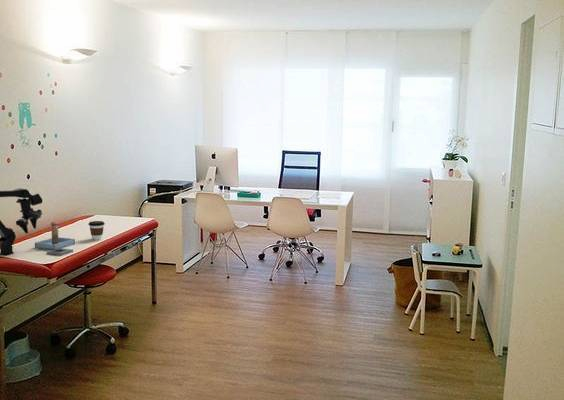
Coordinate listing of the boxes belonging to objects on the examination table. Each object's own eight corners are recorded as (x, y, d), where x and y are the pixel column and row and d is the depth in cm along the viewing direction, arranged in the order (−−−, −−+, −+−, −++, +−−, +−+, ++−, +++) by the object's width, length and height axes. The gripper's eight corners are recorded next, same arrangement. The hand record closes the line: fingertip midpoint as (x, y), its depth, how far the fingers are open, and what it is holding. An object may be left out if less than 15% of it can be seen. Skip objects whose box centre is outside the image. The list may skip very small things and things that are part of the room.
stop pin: (58, 245, 364) (58, 223, 362) (51, 245, 362) (50, 223, 360) (59, 243, 368) (58, 221, 366) (51, 244, 367) (51, 222, 365)
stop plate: (61, 255, 340) (61, 253, 340) (46, 254, 344) (46, 251, 344) (73, 251, 351) (73, 249, 350) (59, 250, 354) (59, 247, 354)
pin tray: (54, 250, 354) (54, 244, 353) (34, 247, 359) (34, 242, 358) (74, 244, 372) (74, 238, 372) (56, 241, 377) (56, 236, 377)
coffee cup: (100, 240, 383) (99, 224, 381) (85, 239, 385) (85, 223, 383) (107, 237, 393) (107, 221, 392) (94, 236, 395) (93, 220, 394)
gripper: (29, 211, 339) (34, 235, 344) (45, 203, 357) (50, 225, 361) (13, 212, 341) (18, 236, 345) (29, 203, 358) (34, 226, 363)
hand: (31, 230), depth 354 cm, fingers open, 9 cm apart
